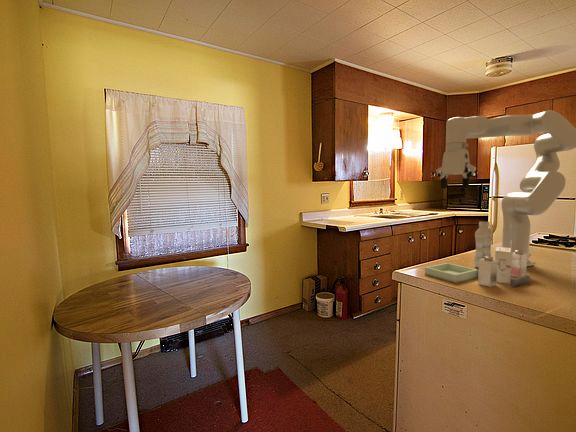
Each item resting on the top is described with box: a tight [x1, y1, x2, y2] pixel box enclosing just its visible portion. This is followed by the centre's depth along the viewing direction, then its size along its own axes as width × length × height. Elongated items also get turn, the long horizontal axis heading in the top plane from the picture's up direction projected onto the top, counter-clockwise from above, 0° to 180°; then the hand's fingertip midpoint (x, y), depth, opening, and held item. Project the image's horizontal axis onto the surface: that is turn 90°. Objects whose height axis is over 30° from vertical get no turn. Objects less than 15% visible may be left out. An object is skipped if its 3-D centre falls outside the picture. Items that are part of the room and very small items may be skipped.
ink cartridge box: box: [494, 240, 512, 285], centre depth 110 cm, size 9×5×15 cm, turn 143°
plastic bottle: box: [473, 220, 494, 269], centre depth 126 cm, size 6×7×20 cm
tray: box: [424, 262, 479, 284], centre depth 117 cm, size 14×13×3 cm
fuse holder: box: [477, 250, 531, 288], centre depth 110 cm, size 24×12×10 cm, turn 117°
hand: (454, 188), depth 128 cm, fingers open, 9 cm apart
